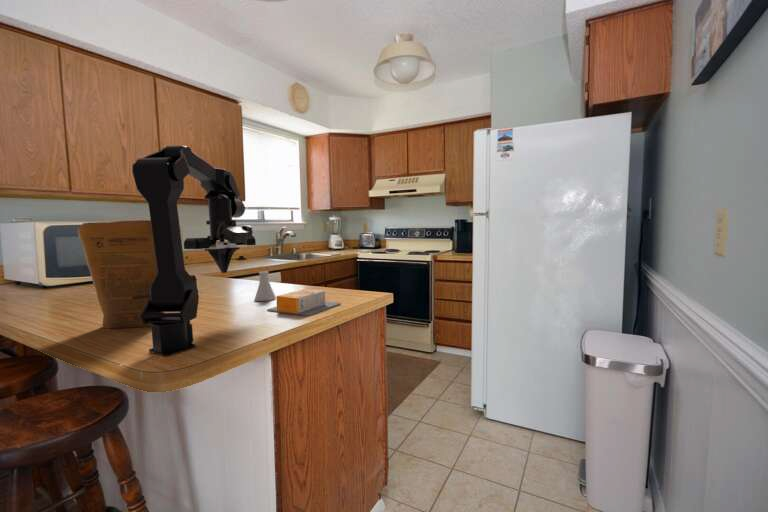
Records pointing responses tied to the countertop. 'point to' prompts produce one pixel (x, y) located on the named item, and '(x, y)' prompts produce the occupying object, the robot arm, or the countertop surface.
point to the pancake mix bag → (120, 268)
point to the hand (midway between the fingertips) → (224, 272)
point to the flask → (264, 288)
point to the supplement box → (300, 300)
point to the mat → (311, 311)
